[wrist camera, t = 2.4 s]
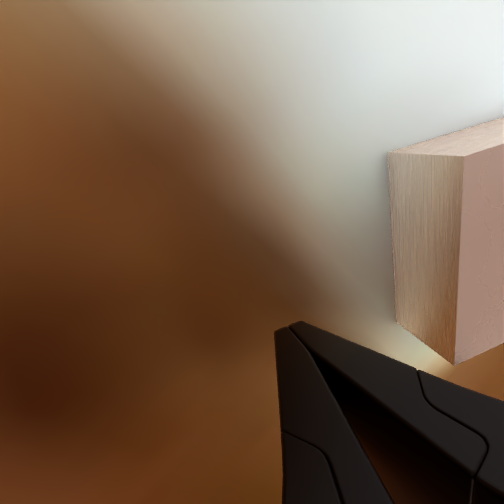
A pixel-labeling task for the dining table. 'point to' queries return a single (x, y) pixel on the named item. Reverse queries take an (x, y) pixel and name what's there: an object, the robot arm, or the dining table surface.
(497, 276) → the pale pink block
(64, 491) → the dining table surface
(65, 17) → the dining table surface
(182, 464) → the dining table surface
